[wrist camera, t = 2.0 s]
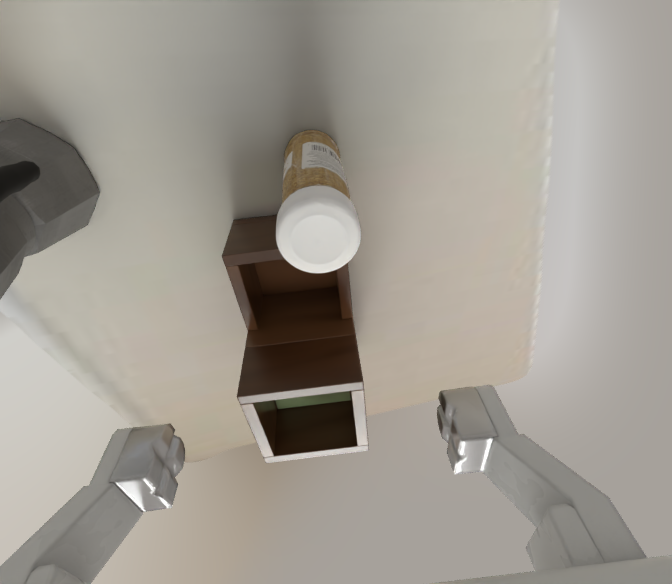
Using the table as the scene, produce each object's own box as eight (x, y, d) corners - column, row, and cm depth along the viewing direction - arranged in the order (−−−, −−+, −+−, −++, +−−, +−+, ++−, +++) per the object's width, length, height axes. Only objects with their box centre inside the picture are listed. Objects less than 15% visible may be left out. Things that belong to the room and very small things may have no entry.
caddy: (233, 220, 32) (201, 317, 22) (339, 206, 32) (356, 298, 22) (274, 356, 44) (265, 463, 33) (353, 346, 43) (369, 450, 33)
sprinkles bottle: (272, 156, 29) (256, 239, 19) (314, 114, 28) (321, 180, 17) (312, 196, 32) (317, 290, 21) (352, 159, 30) (379, 242, 19)
